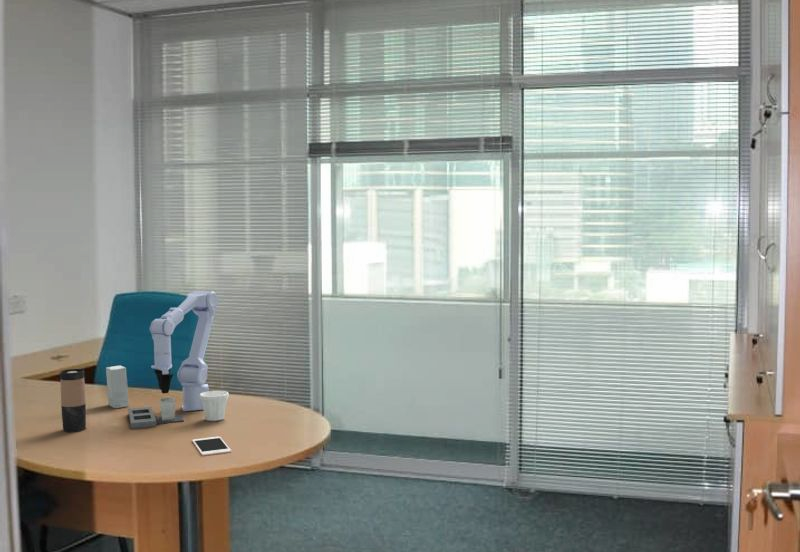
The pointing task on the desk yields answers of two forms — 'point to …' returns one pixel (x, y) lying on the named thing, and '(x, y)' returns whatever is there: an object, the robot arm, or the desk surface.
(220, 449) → the cell phone
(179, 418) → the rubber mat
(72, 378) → the travel mug
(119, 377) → the skincare box
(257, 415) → the desk surface
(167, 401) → the grey boxy piece
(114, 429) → the desk surface
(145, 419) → the grey flat block
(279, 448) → the desk surface
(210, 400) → the cup
